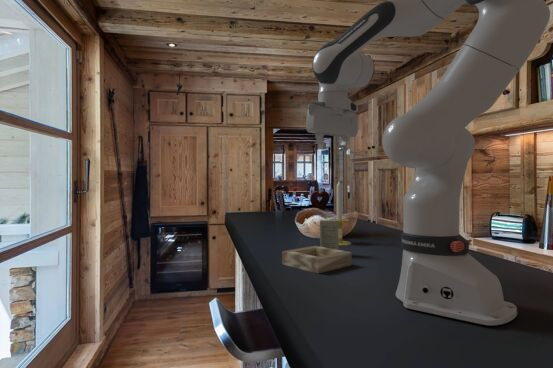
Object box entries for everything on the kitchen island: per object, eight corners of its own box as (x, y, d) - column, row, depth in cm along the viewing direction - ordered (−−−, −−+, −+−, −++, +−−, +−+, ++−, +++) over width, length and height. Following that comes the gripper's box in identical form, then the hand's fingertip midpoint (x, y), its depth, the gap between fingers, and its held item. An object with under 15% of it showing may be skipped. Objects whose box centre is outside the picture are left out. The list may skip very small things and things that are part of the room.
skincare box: (339, 253, 125) (339, 219, 125) (338, 256, 121) (338, 220, 121) (320, 253, 126) (320, 219, 126) (319, 255, 122) (319, 220, 122)
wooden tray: (351, 265, 107) (351, 252, 107) (317, 273, 97) (317, 259, 97) (315, 257, 119) (315, 245, 119) (282, 264, 109) (282, 251, 109)
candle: (323, 242, 149) (323, 178, 149) (344, 241, 152) (344, 178, 152) (333, 246, 140) (333, 178, 140) (356, 245, 143) (356, 178, 143)
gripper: (317, 97, 98) (316, 147, 98) (361, 107, 111) (361, 151, 111) (301, 101, 102) (301, 148, 102) (345, 110, 116) (345, 152, 116)
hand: (332, 150), depth 107 cm, fingers open, 8 cm apart
